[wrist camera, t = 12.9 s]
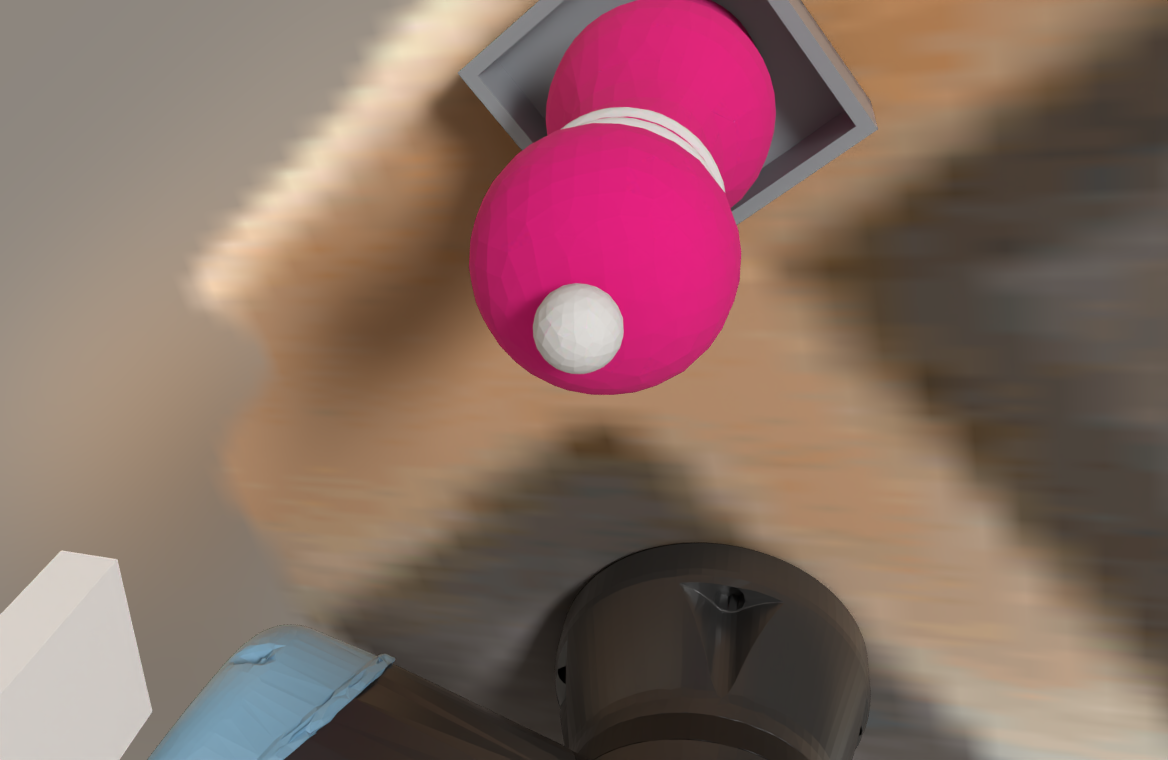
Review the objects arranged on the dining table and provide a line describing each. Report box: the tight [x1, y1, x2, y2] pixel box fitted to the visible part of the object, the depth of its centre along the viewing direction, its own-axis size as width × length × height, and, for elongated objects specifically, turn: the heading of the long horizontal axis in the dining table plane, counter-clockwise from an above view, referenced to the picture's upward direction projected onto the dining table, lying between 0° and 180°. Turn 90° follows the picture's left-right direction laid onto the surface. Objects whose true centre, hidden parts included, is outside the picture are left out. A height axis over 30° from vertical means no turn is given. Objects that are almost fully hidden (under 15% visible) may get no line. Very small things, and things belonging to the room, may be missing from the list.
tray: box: [458, 0, 878, 225], centre depth 36 cm, size 10×10×4 cm
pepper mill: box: [469, 0, 776, 395], centre depth 28 cm, size 7×7×20 cm
